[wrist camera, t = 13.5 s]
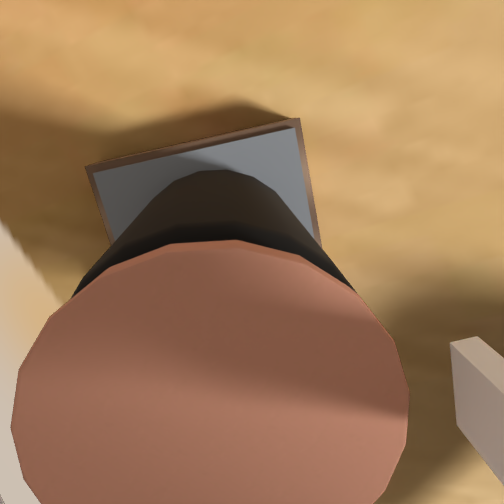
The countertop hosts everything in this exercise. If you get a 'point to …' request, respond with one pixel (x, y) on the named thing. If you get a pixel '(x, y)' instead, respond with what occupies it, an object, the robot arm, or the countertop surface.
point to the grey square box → (202, 159)
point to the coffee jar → (212, 365)
